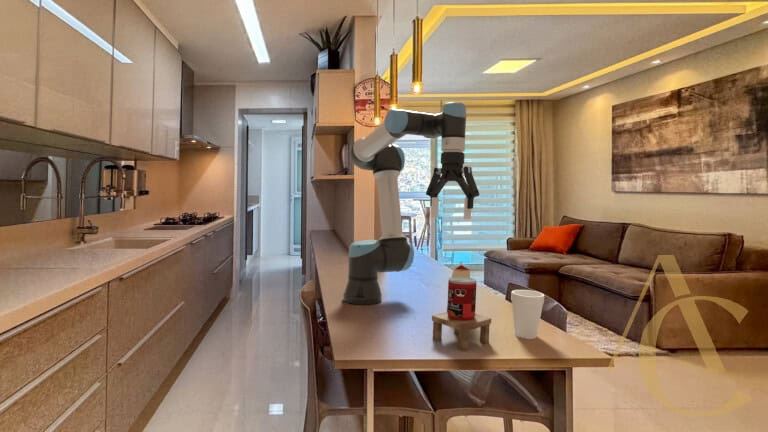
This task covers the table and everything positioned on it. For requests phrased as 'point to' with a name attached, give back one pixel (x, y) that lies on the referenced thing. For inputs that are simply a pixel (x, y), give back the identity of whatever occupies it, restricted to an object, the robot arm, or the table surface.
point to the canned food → (461, 298)
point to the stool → (461, 328)
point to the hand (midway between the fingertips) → (450, 218)
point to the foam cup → (526, 312)
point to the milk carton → (460, 273)
